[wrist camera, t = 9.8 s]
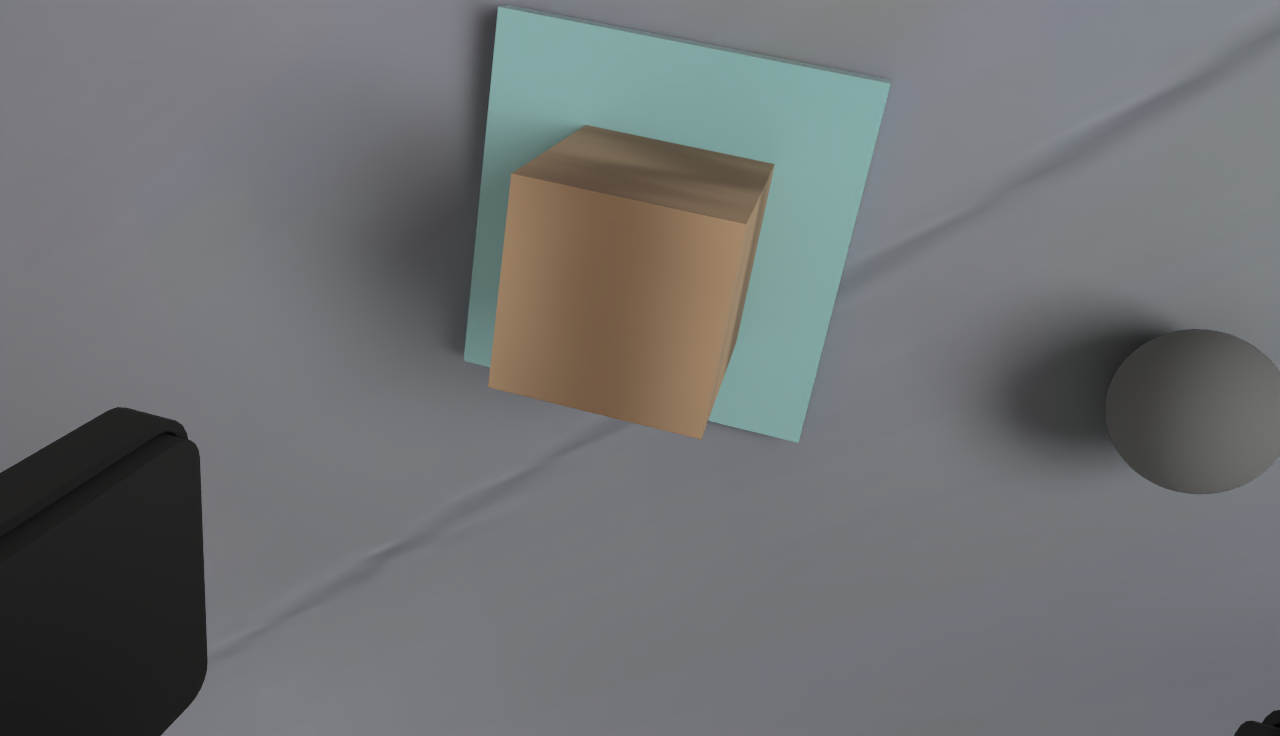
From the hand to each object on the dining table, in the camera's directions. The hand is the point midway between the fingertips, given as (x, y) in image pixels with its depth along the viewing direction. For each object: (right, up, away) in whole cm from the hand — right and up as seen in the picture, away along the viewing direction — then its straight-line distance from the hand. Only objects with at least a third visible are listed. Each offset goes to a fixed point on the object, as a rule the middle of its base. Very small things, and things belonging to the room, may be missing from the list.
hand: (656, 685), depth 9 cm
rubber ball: (+13, +2, +16) cm, 21 cm away
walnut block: (0, +6, +18) cm, 19 cm away
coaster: (0, +7, +19) cm, 20 cm away
